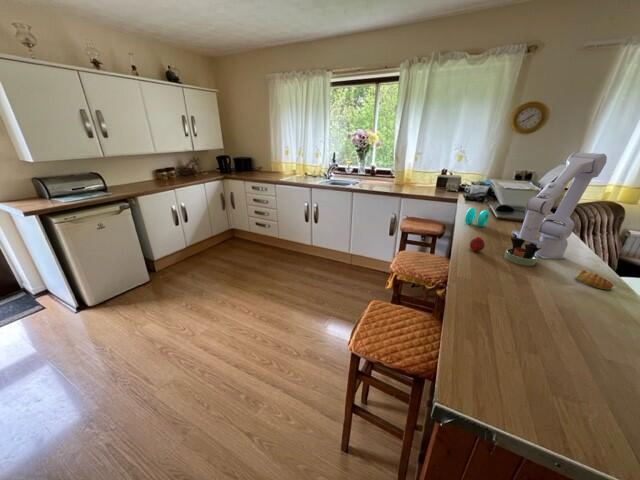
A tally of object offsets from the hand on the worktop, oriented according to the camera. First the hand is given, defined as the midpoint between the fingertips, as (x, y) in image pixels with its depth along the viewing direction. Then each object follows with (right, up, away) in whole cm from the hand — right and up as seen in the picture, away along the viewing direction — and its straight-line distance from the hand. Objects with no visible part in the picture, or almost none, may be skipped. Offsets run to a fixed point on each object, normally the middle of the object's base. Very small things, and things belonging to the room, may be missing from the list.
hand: (520, 256), depth 109 cm
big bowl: (0, -2, +1) cm, 2 cm away
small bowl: (0, -1, +1) cm, 2 cm away
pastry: (+14, -9, -15) cm, 22 cm away
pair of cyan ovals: (+7, +16, +43) cm, 46 cm away
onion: (-14, +1, +8) cm, 17 cm away
